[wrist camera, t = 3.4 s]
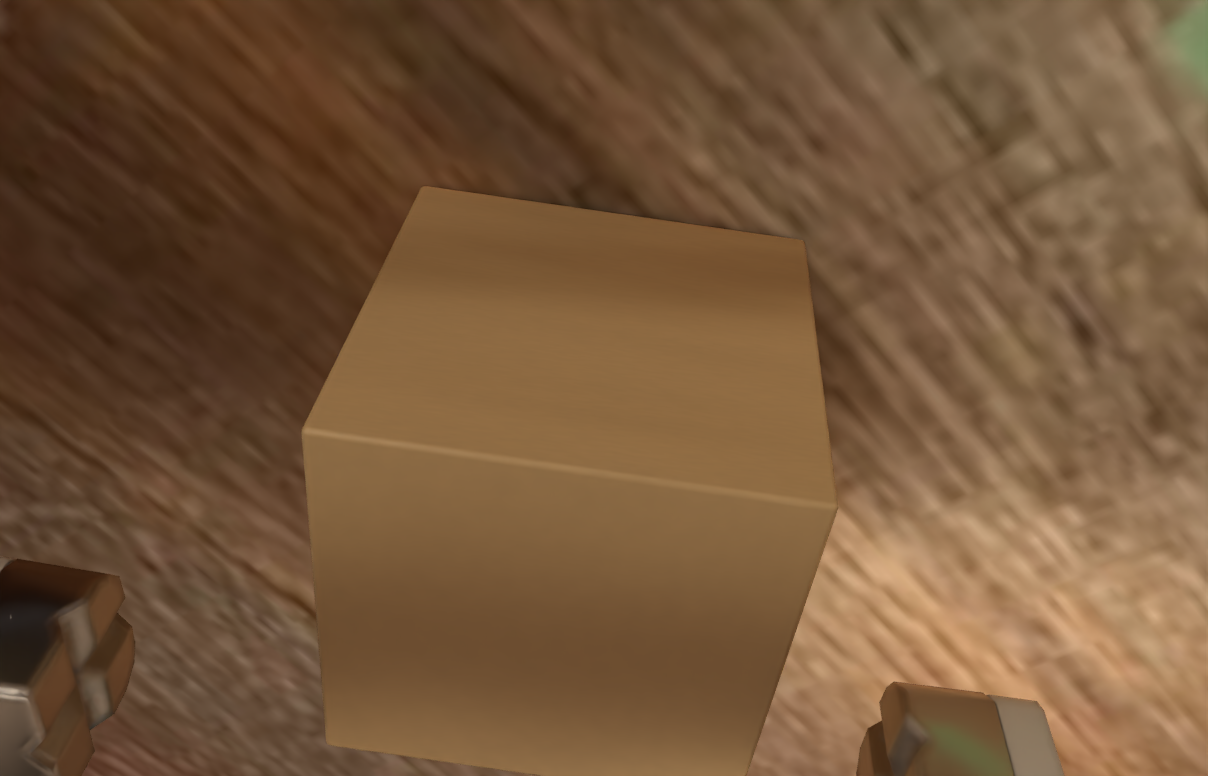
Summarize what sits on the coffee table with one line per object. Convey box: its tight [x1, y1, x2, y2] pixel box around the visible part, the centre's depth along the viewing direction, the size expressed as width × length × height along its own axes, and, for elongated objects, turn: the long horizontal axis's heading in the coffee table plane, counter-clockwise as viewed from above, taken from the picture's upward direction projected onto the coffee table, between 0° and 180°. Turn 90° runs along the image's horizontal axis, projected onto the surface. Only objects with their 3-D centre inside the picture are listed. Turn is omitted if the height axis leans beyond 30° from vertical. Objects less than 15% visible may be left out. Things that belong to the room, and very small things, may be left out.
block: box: [301, 186, 838, 776], centre depth 13 cm, size 5×5×5 cm
